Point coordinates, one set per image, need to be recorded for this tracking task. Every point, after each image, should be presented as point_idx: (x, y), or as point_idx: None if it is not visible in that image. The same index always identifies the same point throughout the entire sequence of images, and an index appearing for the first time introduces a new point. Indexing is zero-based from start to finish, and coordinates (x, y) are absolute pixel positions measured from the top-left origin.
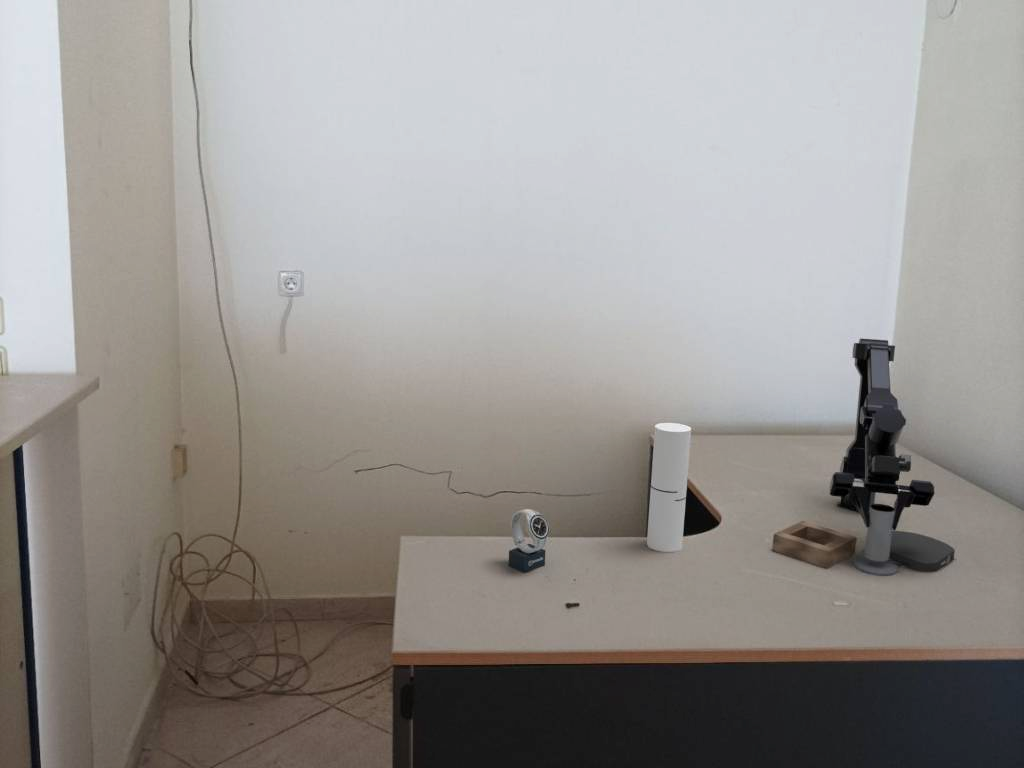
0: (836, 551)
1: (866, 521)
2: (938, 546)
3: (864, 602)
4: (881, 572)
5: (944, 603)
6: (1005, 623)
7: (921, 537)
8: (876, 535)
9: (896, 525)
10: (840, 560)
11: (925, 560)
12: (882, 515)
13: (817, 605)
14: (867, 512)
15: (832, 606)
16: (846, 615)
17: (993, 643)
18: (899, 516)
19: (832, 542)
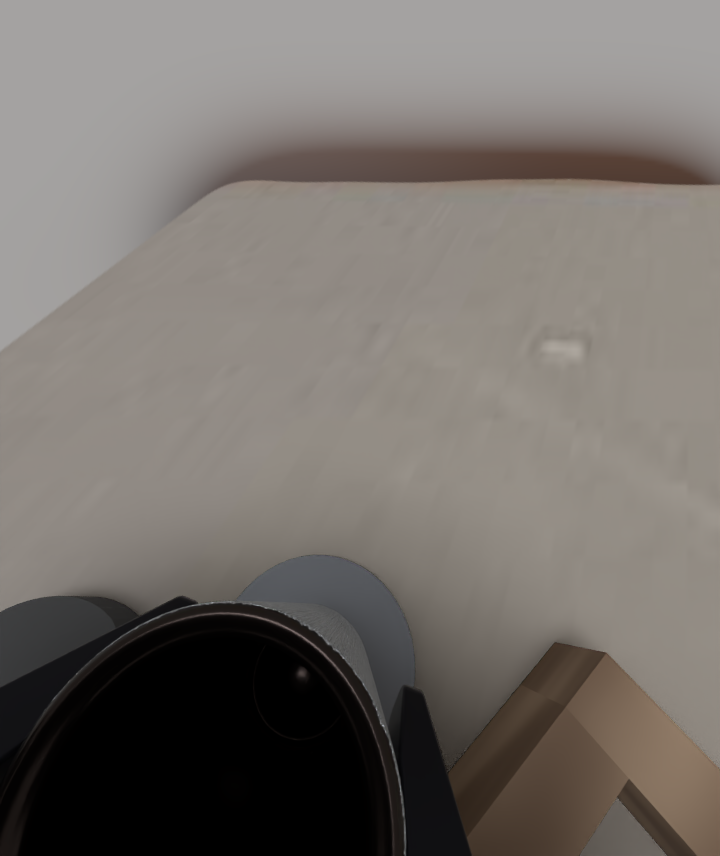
0: (535, 723)
1: (431, 722)
2: None
3: (487, 352)
4: (333, 557)
5: (239, 343)
6: (158, 251)
7: None
8: (343, 626)
9: (162, 607)
10: (466, 753)
11: (60, 624)
12: (301, 614)
13: (635, 337)
14: (424, 845)
15: (591, 331)
16: (561, 289)
17: (265, 188)
18: (48, 666)
19: (559, 851)
